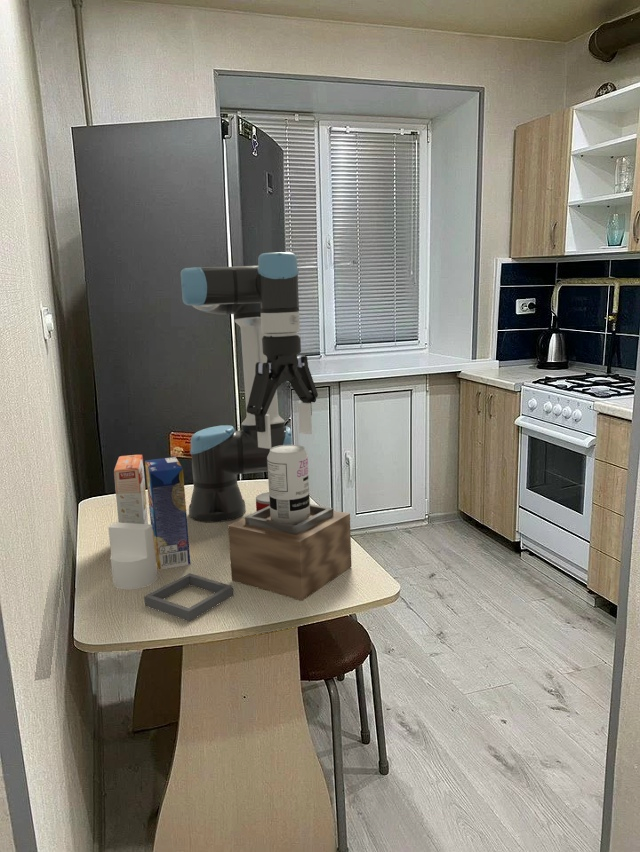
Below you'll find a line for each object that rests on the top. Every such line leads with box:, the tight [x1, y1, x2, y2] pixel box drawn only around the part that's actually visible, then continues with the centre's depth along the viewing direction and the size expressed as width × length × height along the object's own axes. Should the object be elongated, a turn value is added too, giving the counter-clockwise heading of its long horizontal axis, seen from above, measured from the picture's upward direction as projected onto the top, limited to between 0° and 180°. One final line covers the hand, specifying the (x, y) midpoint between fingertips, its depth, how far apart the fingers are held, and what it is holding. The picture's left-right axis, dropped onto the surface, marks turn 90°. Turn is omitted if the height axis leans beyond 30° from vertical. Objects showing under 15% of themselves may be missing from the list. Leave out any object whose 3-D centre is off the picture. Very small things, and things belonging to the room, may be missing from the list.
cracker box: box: [113, 454, 149, 524], centre depth 154 cm, size 14×6×21 cm, turn 12°
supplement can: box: [267, 444, 311, 525], centre depth 134 cm, size 8×8×15 cm
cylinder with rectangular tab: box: [107, 521, 159, 590], centre depth 137 cm, size 9×9×12 cm
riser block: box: [227, 503, 353, 601], centre depth 137 cm, size 18×18×14 cm
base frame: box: [143, 572, 235, 622], centre depth 127 cm, size 12×12×2 cm
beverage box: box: [144, 456, 191, 571], centre depth 146 cm, size 7×11×22 cm, turn 20°
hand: (286, 440), depth 132 cm, fingers open, 13 cm apart
